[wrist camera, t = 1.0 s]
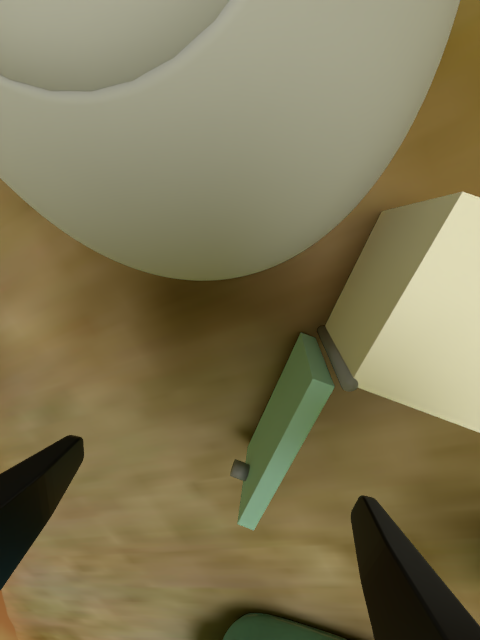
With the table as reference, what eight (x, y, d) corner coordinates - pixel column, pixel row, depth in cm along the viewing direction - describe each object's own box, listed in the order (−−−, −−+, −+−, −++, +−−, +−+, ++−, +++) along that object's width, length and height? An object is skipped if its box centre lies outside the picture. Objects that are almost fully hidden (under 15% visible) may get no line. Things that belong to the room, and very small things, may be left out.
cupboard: (491, 397, 19) (616, 491, 12) (315, 333, 20) (338, 388, 13) (586, 284, 16) (833, 321, 9) (375, 209, 16) (452, 188, 9)
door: (286, 327, 19) (290, 370, 13) (315, 337, 19) (334, 386, 13) (235, 442, 24) (220, 517, 17) (259, 451, 23) (253, 530, 17)
